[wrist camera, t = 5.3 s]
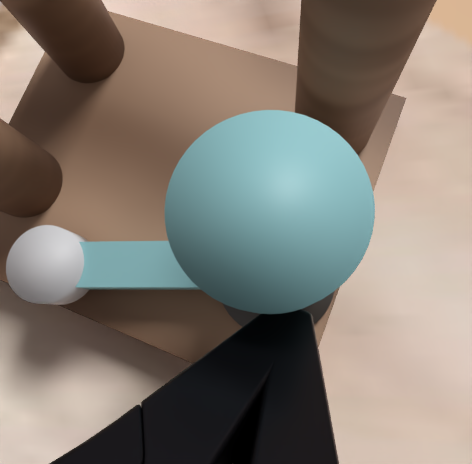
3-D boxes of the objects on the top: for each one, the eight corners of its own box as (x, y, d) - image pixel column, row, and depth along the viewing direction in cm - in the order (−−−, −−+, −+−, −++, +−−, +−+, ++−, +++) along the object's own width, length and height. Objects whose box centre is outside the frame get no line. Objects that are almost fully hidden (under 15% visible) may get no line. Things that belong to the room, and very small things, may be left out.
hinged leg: (23, 313, 14) (-258, 310, 7) (33, 224, 15) (-218, 130, 7) (325, 316, 13) (380, 314, 6) (322, 220, 14) (369, 105, 6)
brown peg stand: (295, 399, 14) (317, 543, 5) (-28, 260, 17) (-412, 189, 7) (395, 118, 16) (548, -154, 7) (87, 25, 18) (-112, -274, 9)
